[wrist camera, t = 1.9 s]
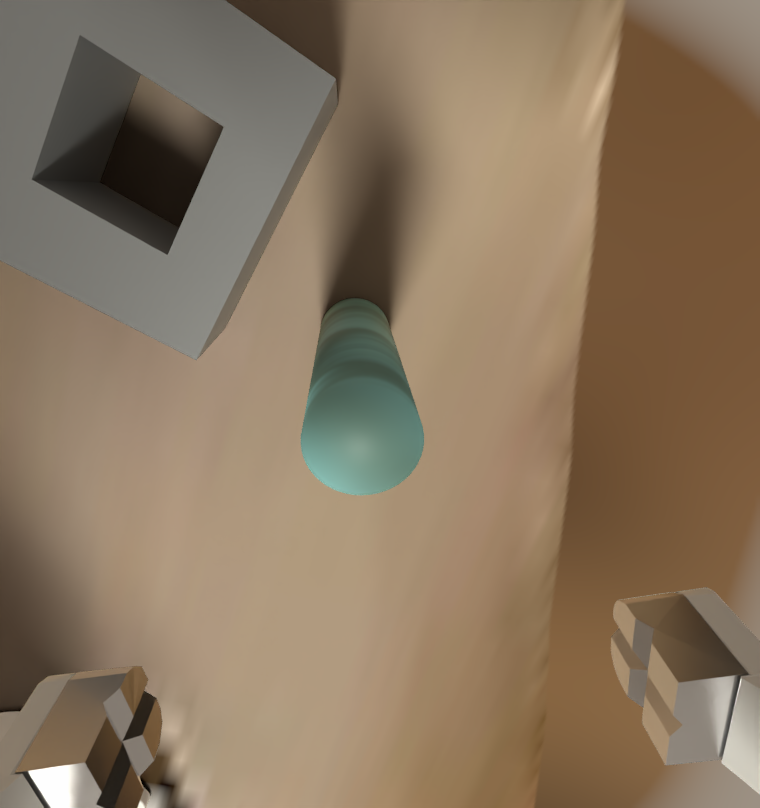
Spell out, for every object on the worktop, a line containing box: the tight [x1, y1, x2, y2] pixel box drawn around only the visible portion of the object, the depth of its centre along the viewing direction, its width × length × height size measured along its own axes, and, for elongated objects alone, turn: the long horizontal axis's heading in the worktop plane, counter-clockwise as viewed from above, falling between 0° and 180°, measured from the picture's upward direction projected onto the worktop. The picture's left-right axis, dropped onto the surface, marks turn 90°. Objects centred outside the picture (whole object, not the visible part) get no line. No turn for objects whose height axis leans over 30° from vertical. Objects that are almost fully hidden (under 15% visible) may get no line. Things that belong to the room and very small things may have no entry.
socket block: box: [0, 0, 338, 360], centre depth 21 cm, size 13×21×6 cm, turn 59°
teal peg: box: [301, 298, 424, 495], centre depth 23 cm, size 4×4×14 cm
